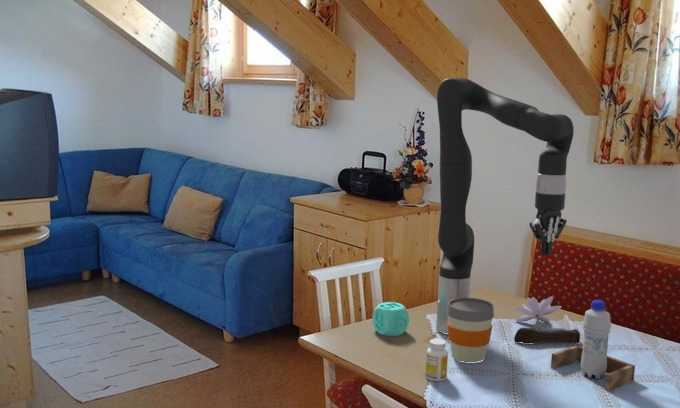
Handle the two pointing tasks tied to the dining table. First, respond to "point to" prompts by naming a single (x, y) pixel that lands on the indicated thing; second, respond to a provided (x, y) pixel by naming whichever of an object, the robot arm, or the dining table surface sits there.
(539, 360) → the dining table surface
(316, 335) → the dining table surface
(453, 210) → the robot arm
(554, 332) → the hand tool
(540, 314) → the water lily
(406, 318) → the decorative dice
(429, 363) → the supplement bottle
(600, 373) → the bottle
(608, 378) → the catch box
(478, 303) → the reusable coffee cup
